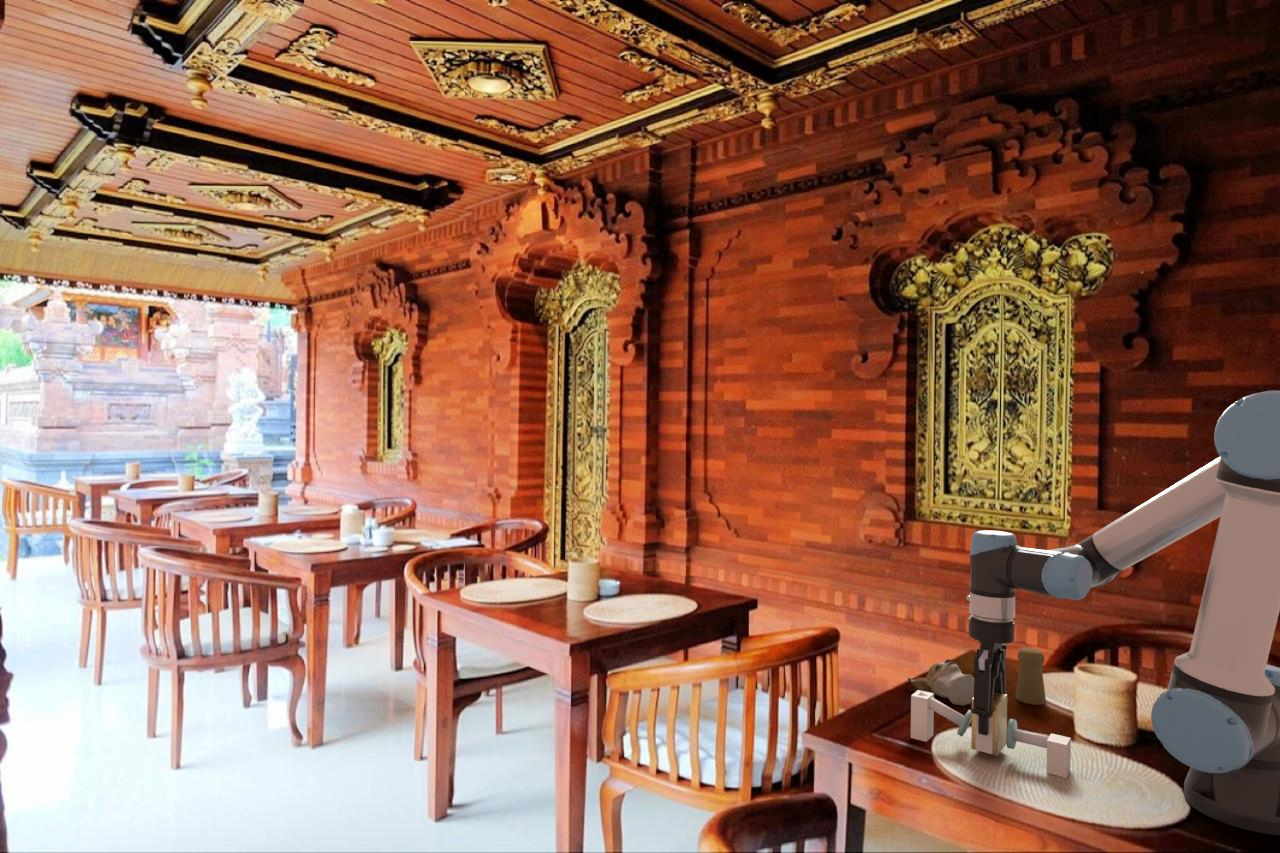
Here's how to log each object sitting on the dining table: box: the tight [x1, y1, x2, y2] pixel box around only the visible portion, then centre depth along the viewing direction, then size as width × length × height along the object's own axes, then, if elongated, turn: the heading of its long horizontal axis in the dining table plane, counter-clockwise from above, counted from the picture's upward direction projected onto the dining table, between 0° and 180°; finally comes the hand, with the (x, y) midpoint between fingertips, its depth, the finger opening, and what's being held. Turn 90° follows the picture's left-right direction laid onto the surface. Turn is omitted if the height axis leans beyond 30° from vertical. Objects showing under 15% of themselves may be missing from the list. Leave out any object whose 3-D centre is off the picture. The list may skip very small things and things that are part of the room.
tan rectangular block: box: [970, 692, 1008, 756], centre depth 137 cm, size 4×6×9 cm
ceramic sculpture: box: [907, 658, 974, 707], centre depth 167 cm, size 11×9×15 cm
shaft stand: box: [910, 689, 1072, 779], centre depth 138 cm, size 26×5×8 cm, turn 52°
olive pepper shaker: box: [1014, 647, 1047, 706], centre depth 166 cm, size 6×6×11 cm
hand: (989, 744), depth 137 cm, fingers closed on tan rectangular block, 6 cm apart
